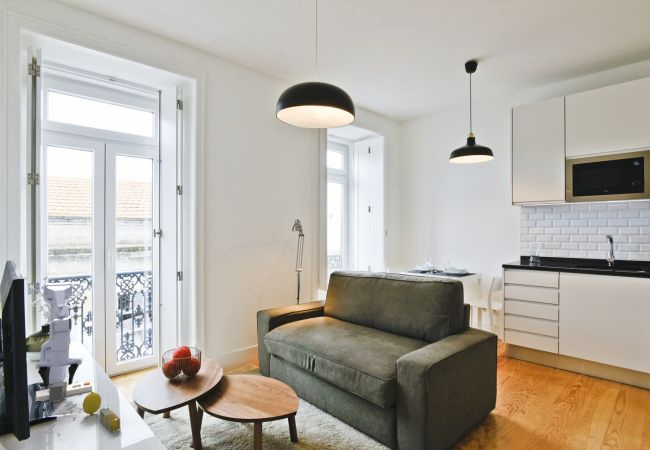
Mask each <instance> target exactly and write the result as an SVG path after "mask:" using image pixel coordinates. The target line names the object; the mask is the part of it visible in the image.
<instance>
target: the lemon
mask: <svg viewBox="0 0 650 450" xmlns="http://www.w3.org/2000/svg"><path fill="white" fill-rule="evenodd" d="M101 404H102V398H101V396H100V394H99V393H97V392H95V391H90V392H89V393H88V394H87V395H85V397H84V399H83V402H82V410H83V412H84V413H86V415H91V416H93V415H94V414H95V413H96V412H98V411H99V410H100V408H101Z"/></svg>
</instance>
